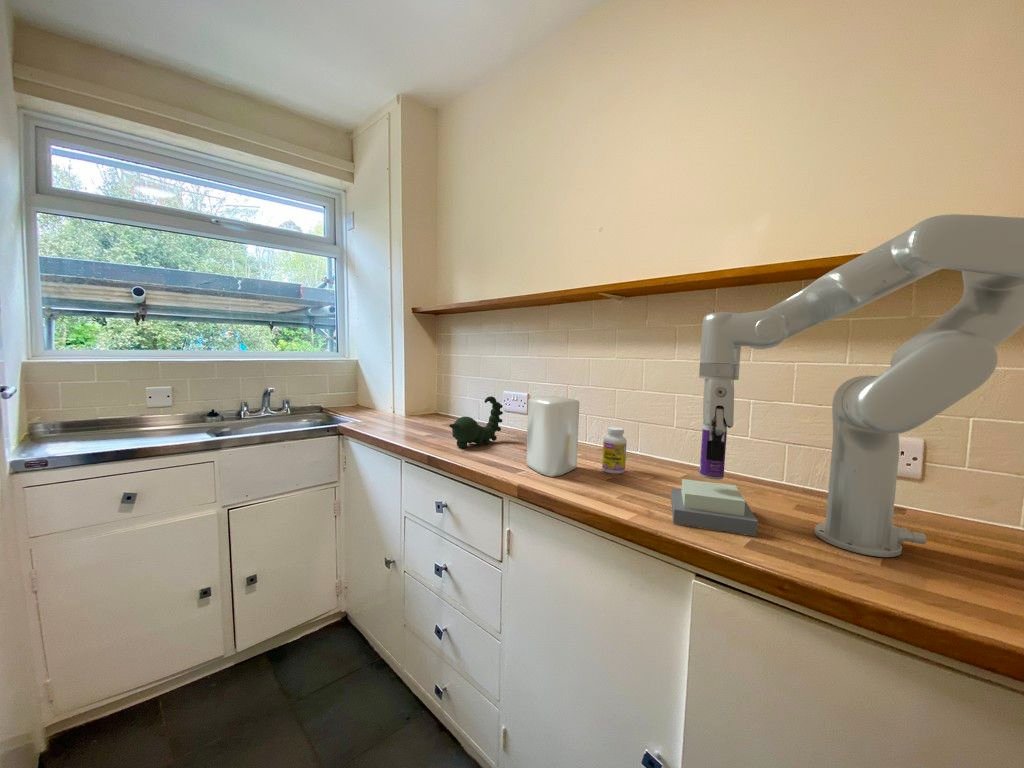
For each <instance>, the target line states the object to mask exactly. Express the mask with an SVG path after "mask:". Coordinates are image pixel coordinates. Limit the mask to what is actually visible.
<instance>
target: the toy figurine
mask: <svg viewBox="0 0 1024 768" xmlns="http://www.w3.org/2000/svg"><path fill="white" fill-rule="evenodd" d="M488 402H489V403H490V404H491V410H490V416H489V417H488V422H487V424H486V425H485V426H482V425H480V424H478V422H477V421H476V420H475V419H474V418H472V417H470V416H462V417H459V418H458V419H456V420H455V421H454V422H453V423H451V424H450V423H449V425H448V426H449V428H450V429H451V432H452V436H451V437H453V438H454V440H456V446H457V447H458V448H460V449H466V448H467V447H468V444H473V443H474V444H476V445H477V446H481V445H482V446H483V444H485V445H486V446H487V445H490V444H491V440H492V441H496V440H497V439H498V438H497V437H498V436H497V435H496V433H497V432H501V431H502V427H500V425H499V423H501V424H502V422H503V419H502V418H500V416H502V415H503V414H504V412H503V411H502V410H501V409H502V408H503V404H501V403H500V402H498V401H497V399H496V397H494V396H491V395H489V396H487V397H486V398H485V400H484V403H485V404H486V403H488Z"/></svg>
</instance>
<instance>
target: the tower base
mask: <svg viewBox="0 0 1024 768" xmlns="http://www.w3.org/2000/svg"><path fill="white" fill-rule="evenodd" d="M670 501H671V502H670V503H671V513H672V514H673V515H672V524H673V523H675V524H674V525H678V524H679V526H684V525H686V526H685V527H690V526H694V527H693V528H697V527H701V528H700V529H703V528H707V529H706V530H710V529H712V530H711V531H716V530H718V531H719V530H720V531H719V532H723V531H727V532H726V533H729V532H733V533H732V534H736V533H739V534H738V535H742V534H746V535H745V536H749V535H752V536H751V537H755V536H758V523H759V521H758V519H757V518H756V516H755V514H754V513H753V511H752V510H751V507H750V506H749V504H748V503H747V501H746V500H745V498H744V497H743V495H742V494H741V492H740V491H739V489H738V487H737V485H735V484H726V483H719V482H710V481H709V482H708V481H704V480H703V481H702V480H693V479H685V478H682V479H681V488H676V487H675V488H673V487H672V488H671V497H670Z"/></svg>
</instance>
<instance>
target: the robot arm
mask: <svg viewBox="0 0 1024 768" xmlns="http://www.w3.org/2000/svg"><path fill="white" fill-rule="evenodd" d="M943 269H945V270H953V271H961V277H962V283H963V294H962V296H961V298H960V300H959V301H958V302H957V303H955V304H954V306H953V307H951V308H950V309H949V310H948V311H947V312H945V313H944V314H943V315H942V316H941V317H940V318H937V319H936V320H935V321H933V322H932V323H931V324H929V325H928V326H927V327H925V328H924V329H923V330H921V331H920V332H918V333H917V334H915V335H914V336H912V337H910V338H909V339H908V340H906V341H905V342H903V343H902V344H901V345H900V346H899V347H898V348H896V350H894V352H893V354H892V356H891V358H890V367H889V368H887V369H886V370H885V371H883V372H882V373H880V374H879V375H859V376H854V377H852V378H850V379H848V380H846V381H845V382H843V383H842V384H840V386H839V387H838V388H836V389H837V390H836V391H835V392H834V396H833V398H832V405H831V406H832V407H831V414H832V445H831V446H832V447H831V456H830V457H831V458H830V466H829V467H830V468H829V477H828V478H829V480H828V491H827V492H828V493H827V504H826V513H825V516H826V517H825V522H821V523H818V524H816V525H815V527H814V533H815V535H816V536H817V537H818V538H819V539H821V540H823V541H824V542H826V543H828V544H830V545H832V546H835V547H837V548H840V549H843V550H845V551H849V552H853V553H857V554H861V555H864V556H865V555H866V556H871V557H879V558H894V557H898V556H901V554H902V549H903V547H902V545H901V543H903V544H904V542H910V543H911V544H913V543H914V544H919V545H925V544H926V543H927V536H926V534H925V533H924V532H917V531H910V530H909V528H906V527H899V526H897V525H895V524H893V520H894V509H895V500H896V490H897V479H898V469H899V463H900V462H899V461H900V435H899V434H904V433H906V432H910V431H912V430H914V429H917V428H918V427H920V426H922V425H924V424H925V423H927V422H929V421H930V420H932V419H933V418H934V417H936V416H937V415H939V414H941V413H943V412H944V411H946V410H948V409H949V408H950V407H951V406H953V405H955V404H957V403H958V402H960V401H961V400H962V399H964V398H966V397H967V396H968V395H970V394H972V393H973V392H975V391H976V390H977V389H979V388H980V387H982V386H983V385H984V384H985V383H986V382H987V381H988V380H989V379H990V377H992V375H993V374H994V372H995V370H996V369H997V365H998V353H997V350H996V348H997V347H998V346H999V345H1000V344H1002V343H1003V342H1004V341H1006V340H1008V339H1009V338H1010V337H1011V336H1012V335H1014V334H1015V333H1016V332H1017V331H1019V330H1020V329H1021V328H1022V326H1024V217H1017V216H1000V215H999V216H997V215H982V214H980V215H978V214H955V213H954V214H941V215H935V216H931V217H927V218H925V219H923V220H921V221H919V222H917V223H916V224H914V225H913V226H911V227H910V228H909V229H907V230H906V231H904V232H902V233H899V235H897V236H894V237H893V238H891V239H889V240H888V241H885V242H883V243H882V244H880V245H878V246H876V247H873V248H872V249H870V250H868V251H866V252H865V253H863V254H860V255H859V256H857V257H855V258H854V259H851V260H849V261H847V262H846V263H844V264H842V265H840V266H837V267H835V268H834V269H832V270H830V271H828V272H827V273H825V274H824V275H822V276H820V277H819V278H817V279H816V280H814V281H813V282H812V283H810V284H809V285H807V286H806V287H804V288H803V289H801V290H800V291H797V293H795V294H793V295H791V296H790V297H787V298H786V299H784V300H782V301H781V302H778V303H777V304H775V305H773V306H771V307H770V308H767V309H763V310H755V311H750V312H749V311H748V312H740V313H738V312H730V311H728V312H727V311H723V312H721V311H720V312H718V311H717V312H711V313H707V314H706V315H704V316H703V319H702V328H701V343H700V356H699V357H700V358H699V369H698V378H699V379H703V380H704V384H703V386H704V387H703V401H702V419H704V417H705V423H706V424H707V425H708V426H709V440H707V451H706V459H707V460H714V461H723V458H724V444H725V442H724V432H725V424H726V425H727V429H731V428H733V427H734V419H735V418H734V417H735V416H734V414H735V413H734V412H735V411H734V410H735V381H739V377H740V367H741V366H740V364H741V363H740V362H741V350H742V349H741V348H742V346H743V347H749V348H751V349H754V350H768V349H772V348H775V347H777V346H779V345H781V344H782V343H783V342H784V341H785V340H787V339H789V338H792V337H793V336H795V335H797V334H800V333H802V332H804V331H805V330H809V329H811V328H813V327H815V326H817V325H819V324H821V323H824V322H828V321H829V320H834V319H837V318H840V317H842V316H845V315H847V314H849V313H852V312H854V311H856V310H859V309H861V308H863V307H864V306H866V305H869V304H872V302H875V301H877V300H879V299H881V298H883V297H886V296H887V295H889V294H891V293H894V292H895V291H897V290H899V289H902V288H904V287H907V286H908V285H910V284H912V283H915V282H916V281H918V280H920V279H923V278H924V277H927V276H929V275H931V274H933V273H935V272H938V271H940V270H943ZM712 420H713V421H712ZM725 421H726V423H725ZM712 423H716V426H712ZM713 429H715V430H713Z"/></svg>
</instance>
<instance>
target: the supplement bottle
mask: <svg viewBox="0 0 1024 768" xmlns="http://www.w3.org/2000/svg"><path fill="white" fill-rule="evenodd" d="M606 430H607V431H606V432H607V435H606V436H604V438H603V445H602V462H601V463H602V464H601V469H602V470H603V472H605V473H609V474H614V475H615V474H617V475H618V474H623V473H624V472H625V471H626V459H627V444H628V443H627V439H626V437H624V433H625V432H624V430H625V429H624V428H622V427H618V426H611V427H610V426H609V427H607V429H606Z"/></svg>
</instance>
